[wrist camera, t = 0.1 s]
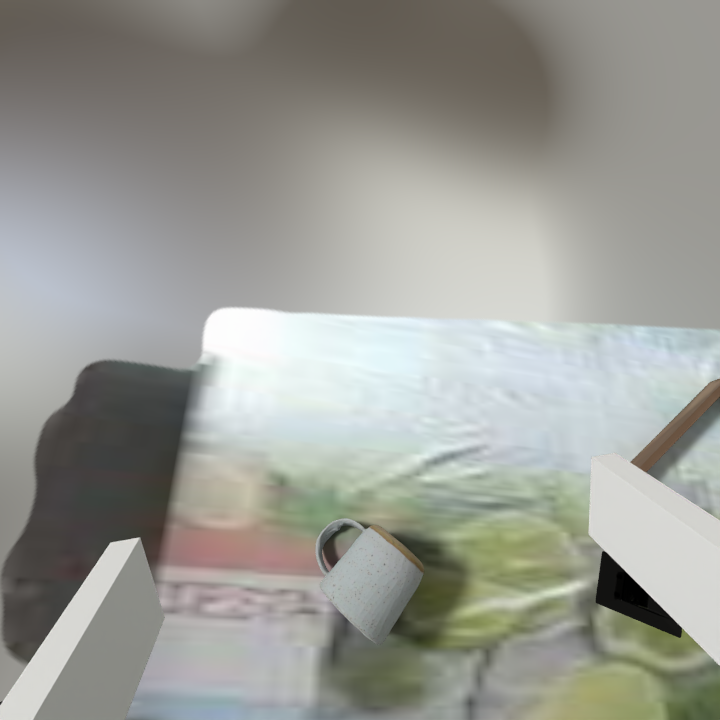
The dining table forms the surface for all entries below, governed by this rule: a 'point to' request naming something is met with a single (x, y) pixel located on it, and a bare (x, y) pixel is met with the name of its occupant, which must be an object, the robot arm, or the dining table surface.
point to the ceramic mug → (370, 578)
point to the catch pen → (677, 427)
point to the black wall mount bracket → (631, 597)
